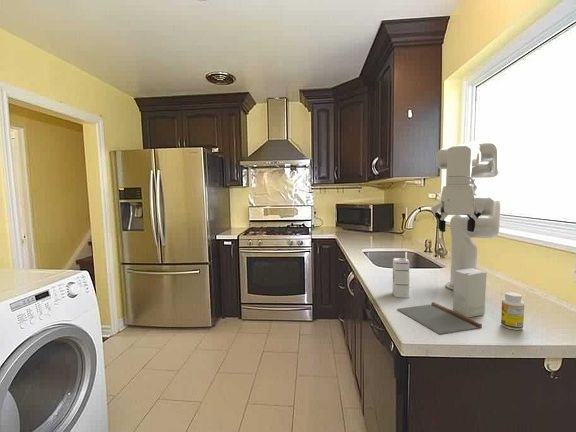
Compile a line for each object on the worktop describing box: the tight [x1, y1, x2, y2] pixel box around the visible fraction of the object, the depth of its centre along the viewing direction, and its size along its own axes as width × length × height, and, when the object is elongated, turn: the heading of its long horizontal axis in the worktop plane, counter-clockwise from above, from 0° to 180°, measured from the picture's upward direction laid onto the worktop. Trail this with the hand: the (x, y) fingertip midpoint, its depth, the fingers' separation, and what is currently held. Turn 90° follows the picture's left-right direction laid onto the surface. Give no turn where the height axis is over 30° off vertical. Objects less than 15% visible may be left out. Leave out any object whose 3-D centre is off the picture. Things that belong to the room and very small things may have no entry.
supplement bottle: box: [500, 291, 525, 331], centre depth 95 cm, size 6×6×10 cm
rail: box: [430, 301, 483, 329], centre depth 104 cm, size 1×20×1 cm, turn 17°
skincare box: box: [452, 268, 487, 318], centre depth 106 cm, size 8×6×15 cm
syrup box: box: [392, 257, 410, 299], centre depth 125 cm, size 6×6×14 cm
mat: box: [396, 304, 479, 335], centre depth 102 cm, size 14×20×1 cm
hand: (456, 231), depth 110 cm, fingers open, 9 cm apart
